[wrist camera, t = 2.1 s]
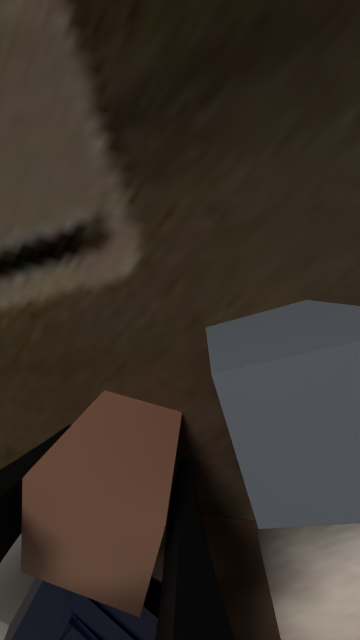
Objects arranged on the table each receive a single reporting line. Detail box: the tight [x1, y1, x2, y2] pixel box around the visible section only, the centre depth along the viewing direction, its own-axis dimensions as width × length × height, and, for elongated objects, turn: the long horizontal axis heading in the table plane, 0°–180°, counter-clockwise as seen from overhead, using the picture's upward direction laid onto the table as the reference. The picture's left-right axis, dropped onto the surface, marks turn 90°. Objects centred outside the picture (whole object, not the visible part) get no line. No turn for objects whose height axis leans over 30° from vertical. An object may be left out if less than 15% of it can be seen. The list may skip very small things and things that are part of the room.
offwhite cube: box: [0, 534, 43, 640], centre depth 10 cm, size 5×5×5 cm
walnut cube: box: [201, 514, 281, 640], centre depth 9 cm, size 5×5×5 cm
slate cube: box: [206, 300, 360, 529], centre depth 6 cm, size 5×5×5 cm
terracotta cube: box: [21, 390, 182, 617], centre depth 8 cm, size 5×5×5 cm
